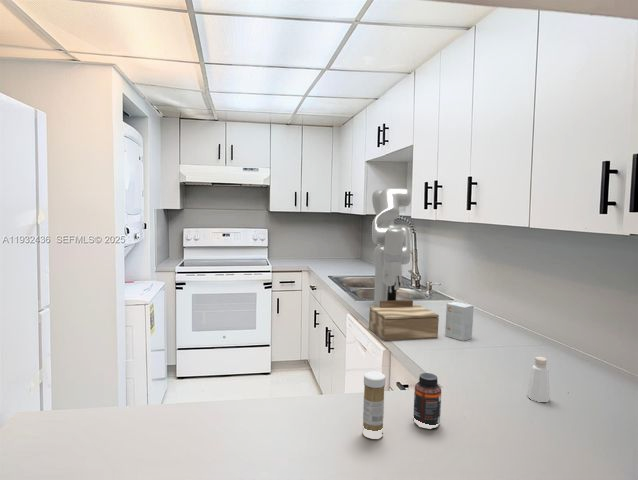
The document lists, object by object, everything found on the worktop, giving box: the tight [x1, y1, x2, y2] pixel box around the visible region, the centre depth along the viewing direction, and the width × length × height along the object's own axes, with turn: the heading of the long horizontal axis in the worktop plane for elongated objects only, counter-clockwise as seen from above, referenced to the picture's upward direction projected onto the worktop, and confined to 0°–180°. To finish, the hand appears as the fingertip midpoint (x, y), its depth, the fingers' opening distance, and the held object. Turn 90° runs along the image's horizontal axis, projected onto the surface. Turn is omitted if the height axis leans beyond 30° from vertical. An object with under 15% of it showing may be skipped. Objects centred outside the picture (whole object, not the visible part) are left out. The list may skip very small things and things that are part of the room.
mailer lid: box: [369, 299, 440, 319], centre depth 163 cm, size 16×22×3 cm
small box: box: [444, 301, 474, 342], centre depth 160 cm, size 8×6×13 cm
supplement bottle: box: [413, 372, 442, 425], centre depth 94 cm, size 6×6×11 cm
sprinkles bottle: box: [362, 371, 386, 431], centre depth 89 cm, size 5×5×14 cm
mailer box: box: [368, 308, 440, 342], centre depth 163 cm, size 16×22×8 cm
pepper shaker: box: [526, 356, 551, 403], centre depth 109 cm, size 5×5×11 cm
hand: (391, 301), depth 174 cm, fingers closed
